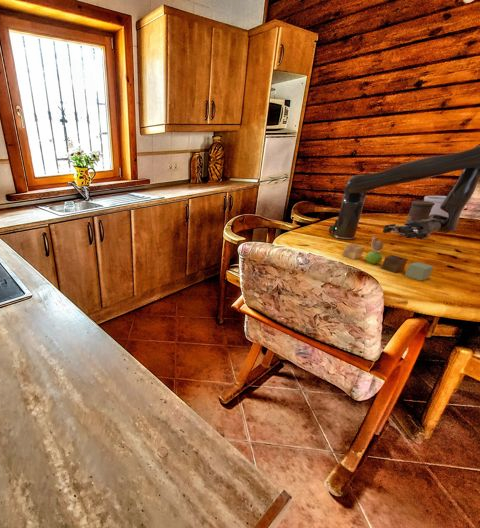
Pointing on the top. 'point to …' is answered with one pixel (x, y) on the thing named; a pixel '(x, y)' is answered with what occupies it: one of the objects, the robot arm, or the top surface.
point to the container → (419, 211)
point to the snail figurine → (375, 252)
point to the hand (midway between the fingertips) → (395, 233)
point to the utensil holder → (436, 205)
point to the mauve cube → (353, 251)
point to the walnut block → (394, 263)
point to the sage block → (419, 271)
